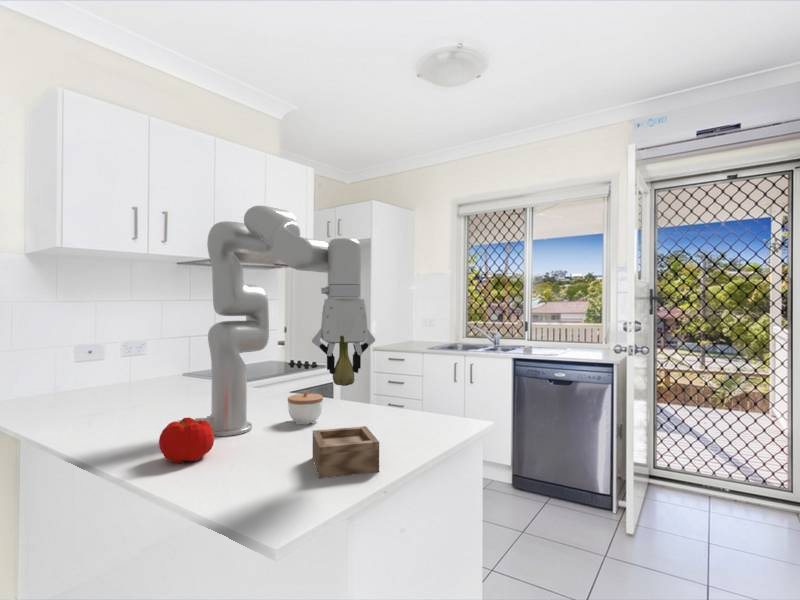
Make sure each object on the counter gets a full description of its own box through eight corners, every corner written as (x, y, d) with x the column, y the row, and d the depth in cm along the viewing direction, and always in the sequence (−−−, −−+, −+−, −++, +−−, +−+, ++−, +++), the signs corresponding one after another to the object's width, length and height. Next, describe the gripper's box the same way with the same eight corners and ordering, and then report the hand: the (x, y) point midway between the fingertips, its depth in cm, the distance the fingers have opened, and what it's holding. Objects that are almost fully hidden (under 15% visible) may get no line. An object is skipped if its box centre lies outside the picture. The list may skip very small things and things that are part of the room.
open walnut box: (319, 478, 94) (319, 447, 94) (312, 457, 106) (312, 430, 106) (379, 471, 98) (379, 441, 98) (365, 452, 110) (365, 426, 110)
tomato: (211, 463, 102) (211, 424, 103) (153, 469, 99) (153, 428, 99) (216, 449, 113) (216, 413, 113) (163, 453, 109) (164, 416, 109)
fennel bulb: (344, 388, 98) (344, 334, 98) (326, 386, 101) (326, 333, 101) (359, 384, 103) (359, 332, 103) (342, 382, 106) (341, 331, 106)
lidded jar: (326, 424, 136) (326, 393, 136) (290, 428, 132) (290, 396, 132) (319, 416, 146) (319, 387, 146) (285, 419, 142) (285, 389, 142)
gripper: (308, 292, 96) (307, 376, 96) (384, 293, 101) (383, 373, 101) (304, 292, 103) (304, 371, 103) (376, 293, 108) (375, 368, 108)
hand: (343, 371), depth 102 cm, fingers closed on fennel bulb, 4 cm apart
